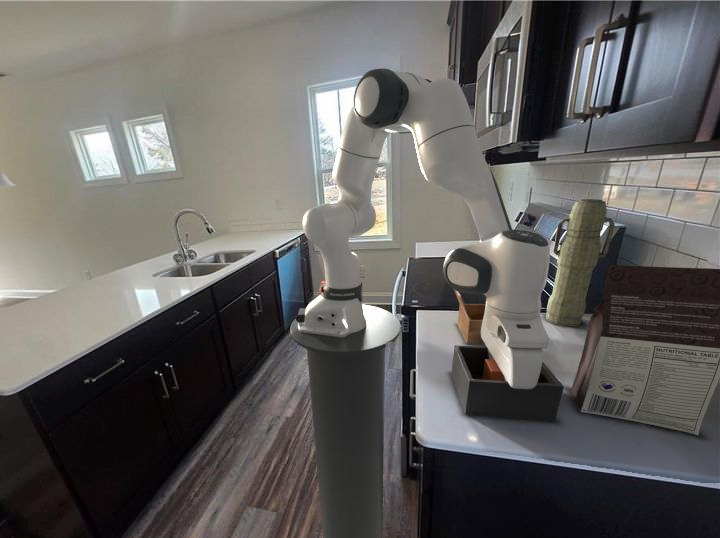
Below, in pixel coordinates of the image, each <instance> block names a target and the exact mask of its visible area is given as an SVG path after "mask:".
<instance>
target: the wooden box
mask: <svg viewBox="0 0 720 538" xmlns="http://www.w3.org/2000/svg"><path fill="white" fill-rule="evenodd" d="M464 304H465V306H466V309H467V311H468V313H469V316H470V318H468V316H467V314H466V313H465V311H464V309H463V308H462V306H461V304H460V303H459V305H458V307H459V309H458V317H457V327H458V329H459V330H460V333H461V335H462V337H463V339H464V341H465V343H466V345H485V343H484V341H483V340H482V338H481V327H482V322H483V317H484V313H485V306H486V303H464Z"/></svg>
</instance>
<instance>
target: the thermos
mask: <svg viewBox="0 0 720 538" xmlns="http://www.w3.org/2000/svg"><path fill="white" fill-rule="evenodd" d="M607 213H608V209H607V203H606V201H605V200H603V199H601V198H600V199H598V198H588V199H587V198H586V199H585V198H584V199H579V200H577V201H575V203H574V204H573V206H572V208H571V211H570V213H569V216H567V217H565V218H562V220H560V221H559V222H558V223H557V227H556V233H555V239H554V244H553V248H552V252H553V253H554V255H555V256H557V259H556V264H557V269H556V273H555V279H554V283H553V288H552V293H551V294H550V295H549V298H548V301H547V306H546V314H545V319H546V321H548V322H550V323H551V324H555V325H557V326H563V327H579V326H580V325H581V324H582V320H583V318H584V315H585V312H586V307H587V301H586V298H587V294H588V291H589V286H590V283H591V278H592V274H593V270H594V269H595V268H596V266H597V264H598V260H600V258H601V259H602V258H606V256H607V255H608V251H609V248H610V244H611V241H612V236H613V233H614V229H615V225H616V224H615V222H614V220H613V219H612V218H610V217H607ZM565 222H567V226H566V233H565V235H564V238H563V239H562V242H561V243H560V239H561V235H562V230H563V225H564V224H565ZM607 223H608V228H607V232H606V235H605V239H604V243H603V247H602V245H601V237H602V235H601V233H602V231H603V229H604V225H605V224H607ZM559 244H560V245H559ZM601 248H602V251H601Z"/></svg>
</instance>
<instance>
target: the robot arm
mask: <svg viewBox="0 0 720 538" xmlns="http://www.w3.org/2000/svg"><path fill="white" fill-rule="evenodd" d="M352 100H353V102H352V106H351V108H350V111H349V113H348V115H347V117H346V120H345V122H344V125H343V128H342V131H341V135H340V137H339V143H338V147H337V151H336V156H335V160H334V165H333V169H332V173H331V174H332V176H331V177H332V181H333V182H334V183H335V185H336V186H337V187H338V191H339V193H338V194H339V195H338V199H337V201H334V202H325V203H320V204H318V205H315V206H313V207H311V208H309V209H308V210H306V212H305V213H304V215H303V219H302V230H303V233H304V235H305V237H306V238H307V239H308V241H309V242H311V243H312V244H314V245H315V246H316V247H317V249H318V251H319V253H320V255H321V258H322V260H323V266H324V267H323V268H324V279H325V280H322V281H321V282H320V285H319V295H318V296H317V297H316V298H314V299H313V300H312V301H310V302H309V303H308V304H307V306H306V307H300V308H299V310H298V314H297V315H296V316H295V319H296V320H297V322H298V330H299V331H300V332H304V333H312V334H320V335H327V336H335V337H345V336H347V335H349V334H351V333H354V332H357V331H360V330H362V329H363V328H365V326H366V320H365V317H364V313H363V307H362V304H363V298H364V290H363V289H364V287H363V283H362V277H361V274H362V273H361V258H360V257H359V255H357V254H356V253H355V252H353V251H352V249H351V245H350V241H349V239H352V238H356V237H360V236H362V235H364V234H366V233H368V232H369V231H370V230H371V229H373V228H374V226H375V225H376V221H377V213H376V208H375V207H374V205H373V204H372V189H373V188H372V186H373V183H374V179H375V176H376V172H377V168H378V164H379V161H380V159H381V154H382V151H383V149H384V145H385V141H386V139H387V138H388V136H389V135H390V134H392V133H397V134H412V135H413V139H414V144H415V149H416V153H417V159H418V163H419V166H420V170H421V173H422V174H423V175H424V178H425V179H426V181H428V183H430V184H431V185H432V186H435V187H436V188H438V189H441V190H444V191H447V192H449V193H452V194H454V195H455V196H457V197H459V198H461V199H462V200H463V201H464V202H465V203H466V204H467V207H468V208H469V210H470V213H471V215H472V219H473V221H474V225H475V227H476V230H477V233H478V236H479V242H475V243H474V242H473V243H470V244H466V245H461V246H459V247H457V248H453V250H451V251H450V252H449V253H448V254H447V255H446V257H445V259H444V262H443V267H442V268H443V269H442V271H443V276H444V279H445V281H446V283H447V285H448V286H449V287H450V288H451V289H453V291H454V290H456V291H458V292H459V293H462V294H467V295H483V296H485V304H486V306H485V313H484V317H483V322H482V327H481V338H482V340H483V341H484V343H485V344H484V346H487V348H488V356H489V359H493V360H495V361H496V363H497V365H498V366H499V368H500V370H501V371H502V373H503V375H504V376H505V380H506V381H508V383H509V385H510V386H511V387H512V388H515V389H532V388H534V387H535V386H536V384H537V382H538V378H539V375H540V371H541V367H542V362H543V363H544V352H543V349H547V348H549V345H550V337H549V334H548V333H547V331H546V329H545V327H544V324H543V320H542V316H541V310H542V300H541V297H542V293H543V291H544V289H545V288H546V285H547V281H548V276H549V270H550V269H549V268H550V260H551V259H550V258H551V248H550V243H549V242H548V239H546V238H545V237H544V236H542V235H541V234H539V233H536V232H533V231H529V230H524V229H523V230H521V229H514V228H513V227H512V224H511V222H510V218H509V215H508V212H507V209H506V206H505V203H504V200H503V197H502V194H501V191H500V188H499V185H498V183H497V180H496V177H495V175H494V173H493V172H492V169H491V167H490V166H489V165H488V162H487V161H486V159H485V156H484V154H483V153H484V152H483V151H482V147H481V145H480V141H479V139H478V135H477V130H476V125H475V122H474V117H473V115H472V111H471V108H470V106H469V103H468V100H467V97H466V95H465V93H464V91H463V89H462V87H461V85H460V84H459V82H458V81H456V80H455V79H452V78H447V77H443V78H438V79H435V80H430V79H428V78H423V77H421V76H420V75H417V74H414V73H411V72H408V71H406V72H403V71H398V70H391V69H389V68H375V69H371V70H368V71H367V72H365V73H364V74H363V75H362V77H361V78H360V79H359V80H358V82H357V83H356V87H355V90H354V94H353V99H352Z"/></svg>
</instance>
